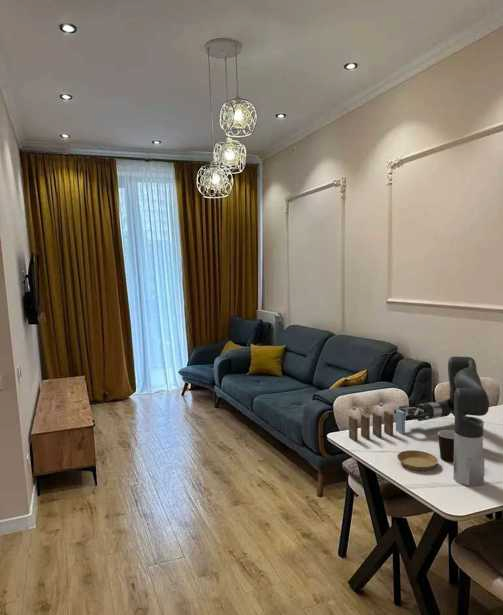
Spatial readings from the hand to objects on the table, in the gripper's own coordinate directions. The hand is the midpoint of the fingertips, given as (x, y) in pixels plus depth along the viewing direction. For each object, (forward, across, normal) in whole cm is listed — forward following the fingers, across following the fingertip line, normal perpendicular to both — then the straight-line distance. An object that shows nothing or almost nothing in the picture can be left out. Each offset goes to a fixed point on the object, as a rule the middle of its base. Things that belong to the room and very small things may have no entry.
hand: (400, 414), depth 206 cm
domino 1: (+24, +1, -9) cm, 26 cm away
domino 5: (0, 0, -8) cm, 8 cm away
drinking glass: (-15, -26, -8) cm, 31 cm away
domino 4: (+6, 0, -8) cm, 10 cm away
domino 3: (+12, 0, -8) cm, 15 cm away
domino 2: (+18, 0, -9) cm, 20 cm away
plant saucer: (+15, -30, -9) cm, 35 cm away
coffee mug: (-1, -31, -8) cm, 32 cm away
